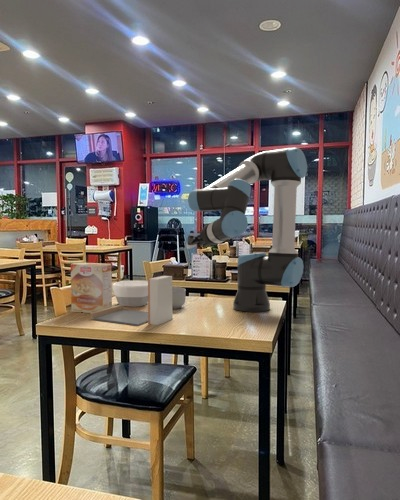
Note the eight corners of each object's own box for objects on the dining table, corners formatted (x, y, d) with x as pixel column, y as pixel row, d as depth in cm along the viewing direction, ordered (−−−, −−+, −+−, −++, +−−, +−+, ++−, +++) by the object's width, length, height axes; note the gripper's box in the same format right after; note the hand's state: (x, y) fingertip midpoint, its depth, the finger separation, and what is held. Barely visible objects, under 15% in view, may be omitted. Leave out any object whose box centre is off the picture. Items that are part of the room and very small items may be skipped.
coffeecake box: (70, 311, 161) (69, 263, 159) (81, 308, 167) (80, 262, 166) (102, 314, 156) (101, 264, 154) (112, 311, 162) (111, 263, 161)
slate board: (165, 315, 154) (165, 309, 154) (138, 325, 138) (138, 319, 138) (121, 310, 164) (121, 304, 163) (90, 319, 147) (90, 313, 147)
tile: (172, 319, 148) (172, 276, 147) (157, 325, 139) (157, 279, 138) (163, 318, 150) (162, 275, 149) (148, 323, 141) (147, 278, 140)
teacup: (187, 305, 174) (187, 286, 174) (184, 310, 163) (184, 291, 163) (156, 304, 176) (155, 286, 175) (150, 309, 165) (150, 290, 164)
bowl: (106, 307, 169) (106, 285, 168) (120, 300, 187) (120, 280, 186) (147, 308, 167) (147, 286, 166) (157, 300, 184) (157, 280, 184)
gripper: (233, 225, 139) (204, 238, 160) (199, 218, 133) (173, 233, 154) (232, 246, 137) (203, 256, 158) (197, 240, 132) (172, 252, 153)
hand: (188, 245), depth 156 cm, fingers closed
